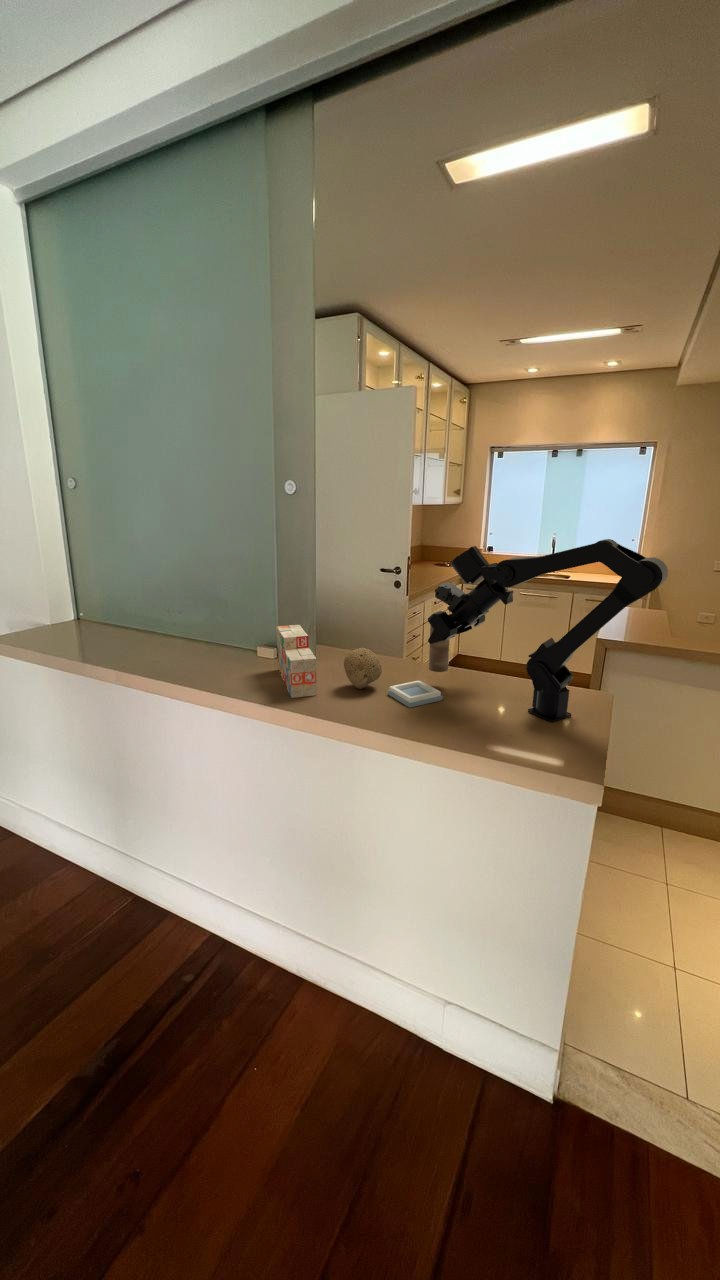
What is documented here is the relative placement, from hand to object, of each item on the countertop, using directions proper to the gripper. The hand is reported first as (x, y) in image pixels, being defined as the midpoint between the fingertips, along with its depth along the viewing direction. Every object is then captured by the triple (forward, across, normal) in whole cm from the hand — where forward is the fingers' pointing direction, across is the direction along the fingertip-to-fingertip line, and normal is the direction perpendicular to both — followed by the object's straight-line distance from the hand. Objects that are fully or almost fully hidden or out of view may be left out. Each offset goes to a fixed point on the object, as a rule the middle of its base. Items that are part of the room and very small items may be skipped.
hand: (434, 640), depth 124 cm
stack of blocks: (+28, +19, -12) cm, 36 cm away
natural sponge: (+17, +12, 0) cm, 21 cm away
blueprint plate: (+8, +10, +9) cm, 15 cm away
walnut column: (+4, 0, +6) cm, 7 cm away
